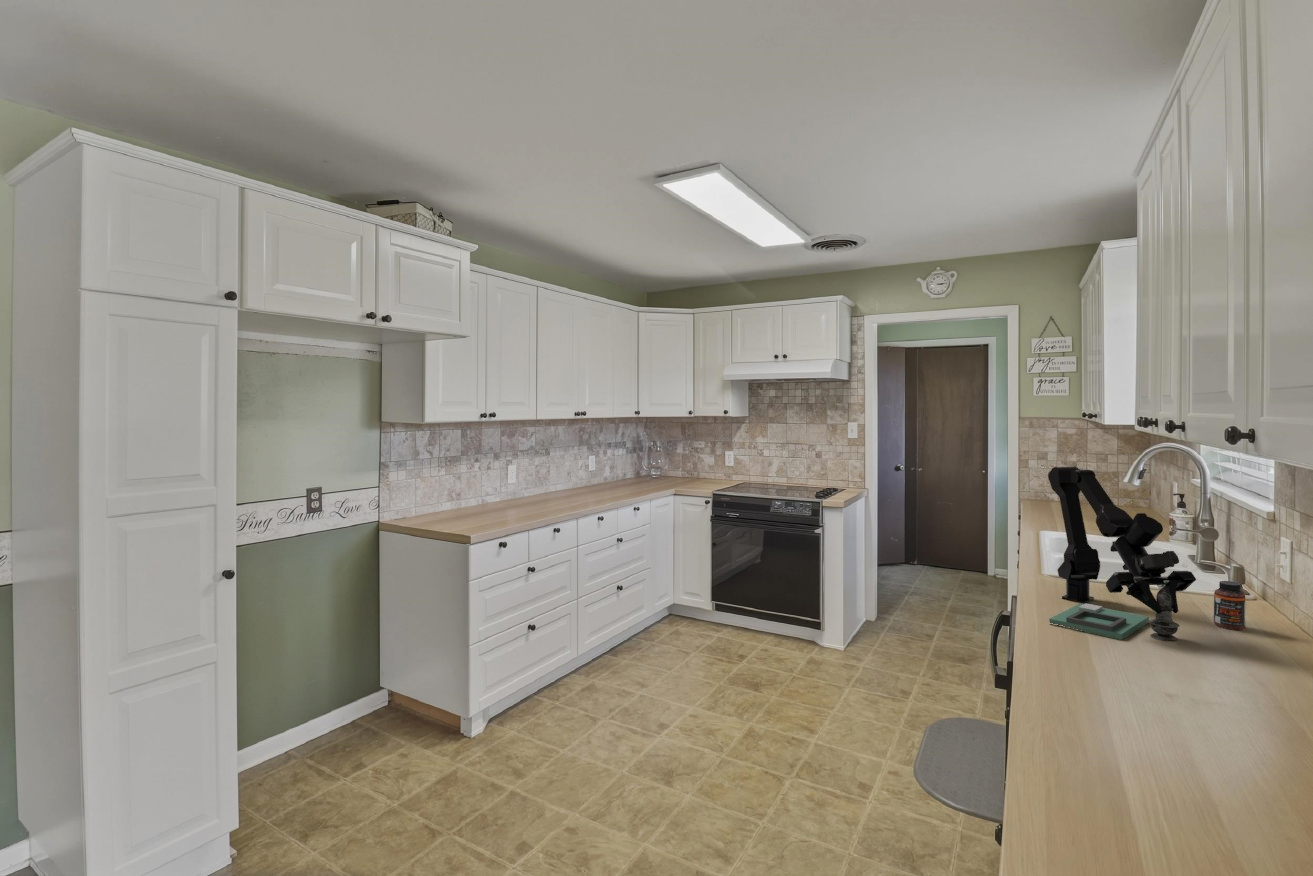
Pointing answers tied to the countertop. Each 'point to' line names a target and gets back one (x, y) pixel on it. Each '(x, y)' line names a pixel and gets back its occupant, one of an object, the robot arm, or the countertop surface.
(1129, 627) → the socket board
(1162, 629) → the weathered stone pawn
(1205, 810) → the countertop surface
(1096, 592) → the countertop surface
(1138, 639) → the countertop surface
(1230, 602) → the supplement bottle
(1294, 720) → the countertop surface
